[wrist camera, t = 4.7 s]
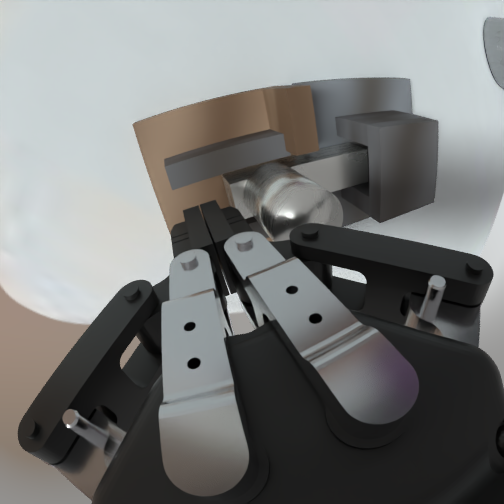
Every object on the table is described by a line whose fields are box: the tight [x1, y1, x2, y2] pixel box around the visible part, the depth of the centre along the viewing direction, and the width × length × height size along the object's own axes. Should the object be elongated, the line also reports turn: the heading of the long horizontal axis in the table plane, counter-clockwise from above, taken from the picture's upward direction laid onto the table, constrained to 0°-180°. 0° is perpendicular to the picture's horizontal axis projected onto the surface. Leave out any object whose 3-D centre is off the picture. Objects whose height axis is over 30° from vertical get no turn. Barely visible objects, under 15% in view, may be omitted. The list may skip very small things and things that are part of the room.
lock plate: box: [133, 78, 438, 241], centre depth 15 cm, size 18×10×5 cm, turn 101°
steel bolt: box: [222, 143, 368, 241], centre depth 13 cm, size 8×3×6 cm, turn 101°
